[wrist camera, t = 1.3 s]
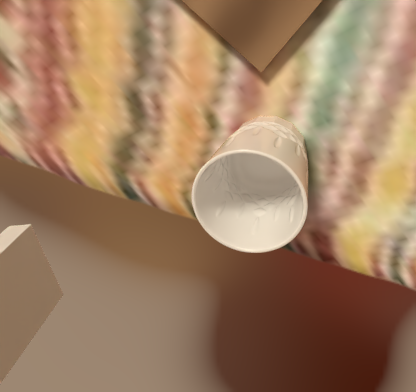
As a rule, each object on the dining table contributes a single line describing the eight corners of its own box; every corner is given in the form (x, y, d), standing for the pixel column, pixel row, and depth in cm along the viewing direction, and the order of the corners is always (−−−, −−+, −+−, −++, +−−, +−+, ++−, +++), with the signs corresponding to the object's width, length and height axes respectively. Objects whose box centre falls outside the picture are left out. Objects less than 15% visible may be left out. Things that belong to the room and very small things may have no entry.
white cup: (321, 184, 34) (317, 248, 26) (237, 196, 37) (210, 257, 29) (304, 98, 31) (293, 138, 23) (215, 119, 34) (176, 161, 26)
